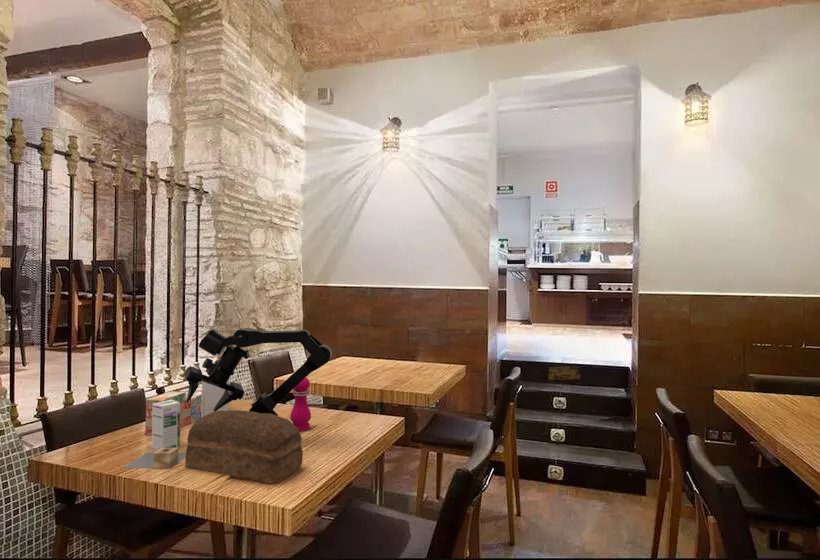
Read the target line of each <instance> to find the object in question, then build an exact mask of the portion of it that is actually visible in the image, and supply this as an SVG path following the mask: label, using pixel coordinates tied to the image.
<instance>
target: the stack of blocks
mask: <svg viewBox="0 0 820 560" xmlns="http://www.w3.org/2000/svg"><path fill="white" fill-rule="evenodd" d="M187 394H188V393H186V391H172V390H171V391H168V392H165V393H162V394H159V395H156V396H153V397H149V398H146V399H145V429H144V430H145V431H144V433H145V436H150V435H152V404H153V403H158V402H163V401H168V400H175V401H178V402H180V429H181V428H183V427H186V426H188V425H191V424H194V423H195V422H196V421H197V420H198V419H199V418H202V394H193V396H192V397H191V399H190V400H189V402H188V403H187V402H186V399H187Z"/></svg>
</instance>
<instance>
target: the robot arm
mask: <svg viewBox="0 0 820 560" xmlns="http://www.w3.org/2000/svg"><path fill="white" fill-rule="evenodd" d="M282 343H300V344H301V345H302V346H303V348H305V350H306V351H307V352H308V353H309V354H310V355H309V356H308V358H307V359H306V360H305V361H304V363H303V364H302V365H301V366H300V367H299V368H297V369H296V370H295V371H294V372H293V373H292V374H291V375H290V376H289V377H288V378H286V379H285V380H284V381H283V382H282V383H281V384H280V385H279V386H278V387H276V389H274V391H272V392H271V393H268V394H267V393H266V392H265V391H264V392H263V393H262V394H261V395H260V396H259V397H258V398H257V399H255V400H254V401H253V402H252V403H251V404H250V406H251V407H250V409H249V410H248V411H251V412H258V413H261V414H263V413H271V414H274V415H277V416H279V414H278V413H277V412H276V411H275V410H274V409H275V407H277V405H278V404H279V403H280V402H281V400H283V399H284V398H285V397H286V396H288V394H290V392H291V391H294V390H295V389H294V388H295V387H296V386H297V385H298V384H299V383H300V382H301V381H302V380H303V379H304V378H308V376H309V375H310V374H312V373H313V372H315V371H317V370H318V369H320V368H321V367H322V366H324V365H326V364H328V363H329V361H330V360H331V358H332V355H333V351H332V349H331V347H330V346H329V345H327V344H323V343H322V342H321V341H320V340H319V339H318V338H316V337H315V336H314V335H312V334H311V332H310V331H309V330H308V329H297V330H295V329H293V330H261V329H257V328H251V327H243V328H240V329H238V330H236V331H234V333H233V335H229V336H227V337H226V336H225V335H223V334H221V333H220V332H218V331H217V330H216V329H210V330H209V331H208V333H206V335H205V336H204V337H203V338H202V339H201V340H200V342H199V343H198V348H200V349H202V350H203V351H205V352H206V353H208V354H210V355H212V356H214V357H216V356H217V355H218V356H220V355H221V356H220V358H219V359H218V360H216V361H215V363H213V362H214V360H213V359H211V358H208V357H207V358H205V360H204V361H203V363H202V366H201V368H203V369H206V370H205V371H204V372H205V373H206V374H203V372H202V370H201V369H199V368H197V367H194V366H192V365H191V366H187V368H186V369H185V371H184V372H183V373H184V377H185V380H186V381H187V384H188V385H189V386H188V391H187V393H186V394H187V399H186V402H187V403H188V402H189V400H190V399H191V397H192V396H193V395H195V393H196V391H197V390H198V389H199V383H201V382H202V381H203V382H206V383H208V384H211V385H214V386H217V387H219V388H222V389H225V392H224V394H223V396H222V397H221V399H220V400H219V402H218V403H217V404H216V406H215V408H214V412H215V411H217V410H218V409H220V408H221V407H223V406H224V405H226V404H227V403H228V404H229V403H231V402H233V401H237V400H240V401H241V400H242V399H243V398H244V396H245V389H244V388H243V386H242V384H239V383H237V382H234V381H231V382H229V384H227V381H228V380H229V381H230V378H231V377H232V376H234V374H235V370H236V368H237V366H239V363H240V362H241V360H242V359H243V358H244V359H245V360H248V359H249V358H250V359H251V354H250V350H249V349H243V348H248V347H252V346H257V345H262V344H282ZM234 345H235V346H234ZM205 375H209V377H208V376H205Z"/></svg>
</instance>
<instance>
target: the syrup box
mask: <svg viewBox="0 0 820 560" xmlns="http://www.w3.org/2000/svg"><path fill="white" fill-rule="evenodd" d="M151 439H152V441H151V443H152V445H151V448H152V449H155V450H156V451H158V450H159V449H161V448H180V446H181V428H180V402H178V401H175V400H168V401H163V402H158V403H153V404H152V436H151Z"/></svg>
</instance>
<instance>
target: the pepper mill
mask: <svg viewBox="0 0 820 560" xmlns="http://www.w3.org/2000/svg"><path fill="white" fill-rule="evenodd" d="M310 385H311V384H310V380H309V378H308V377H306V378H304V379H303V380H302V381H301V382H300V383H299V384H298V385H297V386H296V387H295V388H294V389H293V396H294V403H293V404H294V405H292V406H293V407H292V408H291V412H290V416H289V420H290V422H292V423H293V424H294V425H295V426H296V427H297V428H298V430H299V431H300V432H306V431H308V430H309V429H310V420H311V418H312V414H311V409H310V408H309V406H308V401H307V400H308V399H307V398H308V397H307V396H308V395H309V390H308V389H309V387H310ZM307 429H308V430H307ZM305 430H306V431H305Z"/></svg>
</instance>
